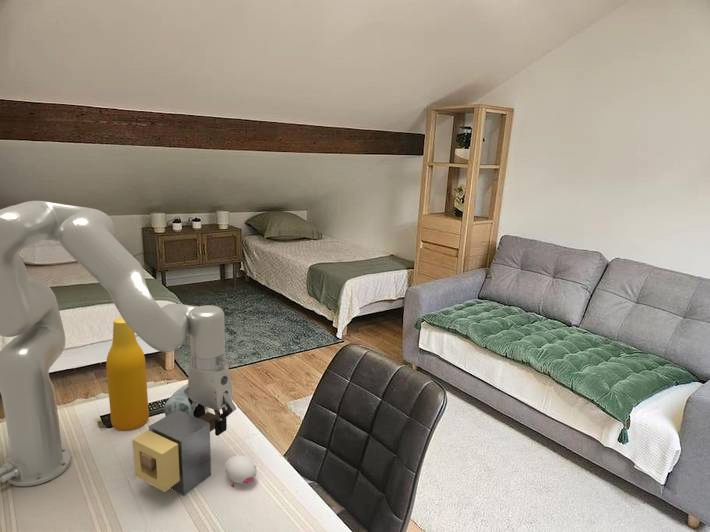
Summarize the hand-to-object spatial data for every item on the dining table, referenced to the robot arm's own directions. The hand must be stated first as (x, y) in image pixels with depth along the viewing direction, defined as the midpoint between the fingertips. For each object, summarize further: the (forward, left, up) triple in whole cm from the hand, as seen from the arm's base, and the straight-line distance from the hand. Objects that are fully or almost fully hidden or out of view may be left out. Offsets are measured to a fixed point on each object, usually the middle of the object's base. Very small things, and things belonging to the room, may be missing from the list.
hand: (210, 427), depth 116 cm
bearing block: (-9, 0, -8) cm, 12 cm away
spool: (+9, +18, -8) cm, 22 cm away
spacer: (-16, 0, -4) cm, 16 cm away
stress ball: (-2, -12, -8) cm, 15 cm away
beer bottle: (-1, +28, -8) cm, 29 cm away
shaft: (-8, 0, 0) cm, 8 cm away
